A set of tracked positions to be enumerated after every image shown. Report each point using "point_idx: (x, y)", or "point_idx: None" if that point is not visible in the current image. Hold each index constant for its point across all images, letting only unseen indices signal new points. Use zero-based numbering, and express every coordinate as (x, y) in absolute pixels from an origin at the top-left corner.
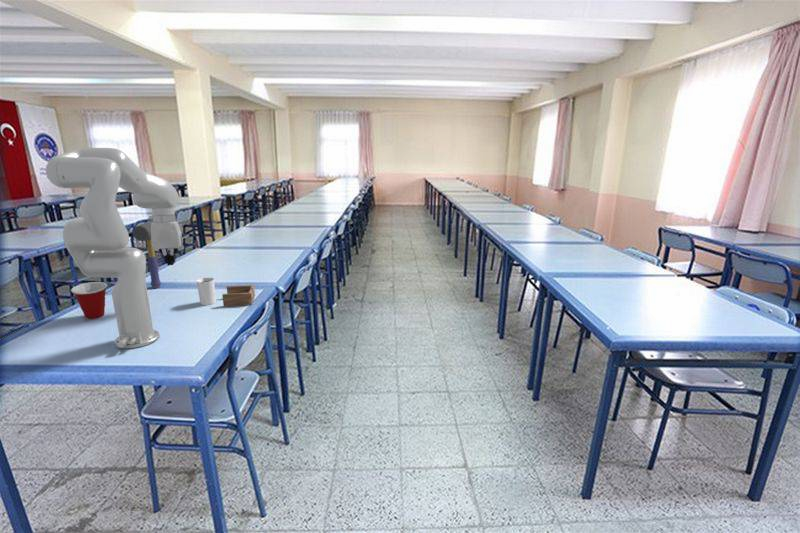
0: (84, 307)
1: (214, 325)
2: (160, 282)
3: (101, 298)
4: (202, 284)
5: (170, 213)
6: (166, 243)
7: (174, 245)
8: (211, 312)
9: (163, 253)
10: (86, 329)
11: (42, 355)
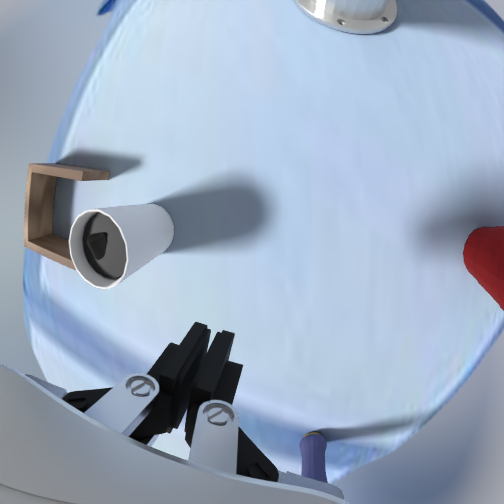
0: None
1: (150, 28)
2: (300, 446)
3: (501, 244)
4: (110, 211)
5: None
6: (82, 498)
7: (6, 396)
8: (143, 125)
9: (230, 426)
10: (485, 147)
11: (500, 49)
